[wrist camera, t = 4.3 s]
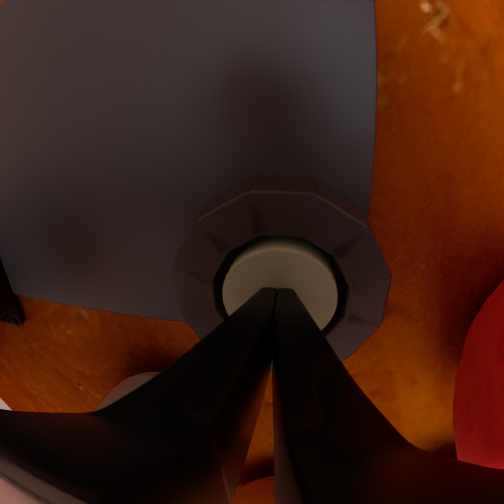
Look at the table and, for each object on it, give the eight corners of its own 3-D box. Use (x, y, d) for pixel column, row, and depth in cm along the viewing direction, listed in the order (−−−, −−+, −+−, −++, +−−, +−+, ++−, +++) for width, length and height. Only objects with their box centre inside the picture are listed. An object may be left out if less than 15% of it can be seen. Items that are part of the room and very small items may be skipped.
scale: (31, 288, 15) (-1, 319, 12) (-7, 22, 8) (-52, 23, 6) (357, 322, 13) (366, 376, 10) (374, -60, 6) (394, -101, 3)
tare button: (234, 310, 11) (225, 339, 10) (230, 223, 10) (218, 245, 8) (328, 316, 11) (330, 347, 9) (338, 228, 9) (344, 251, 8)
